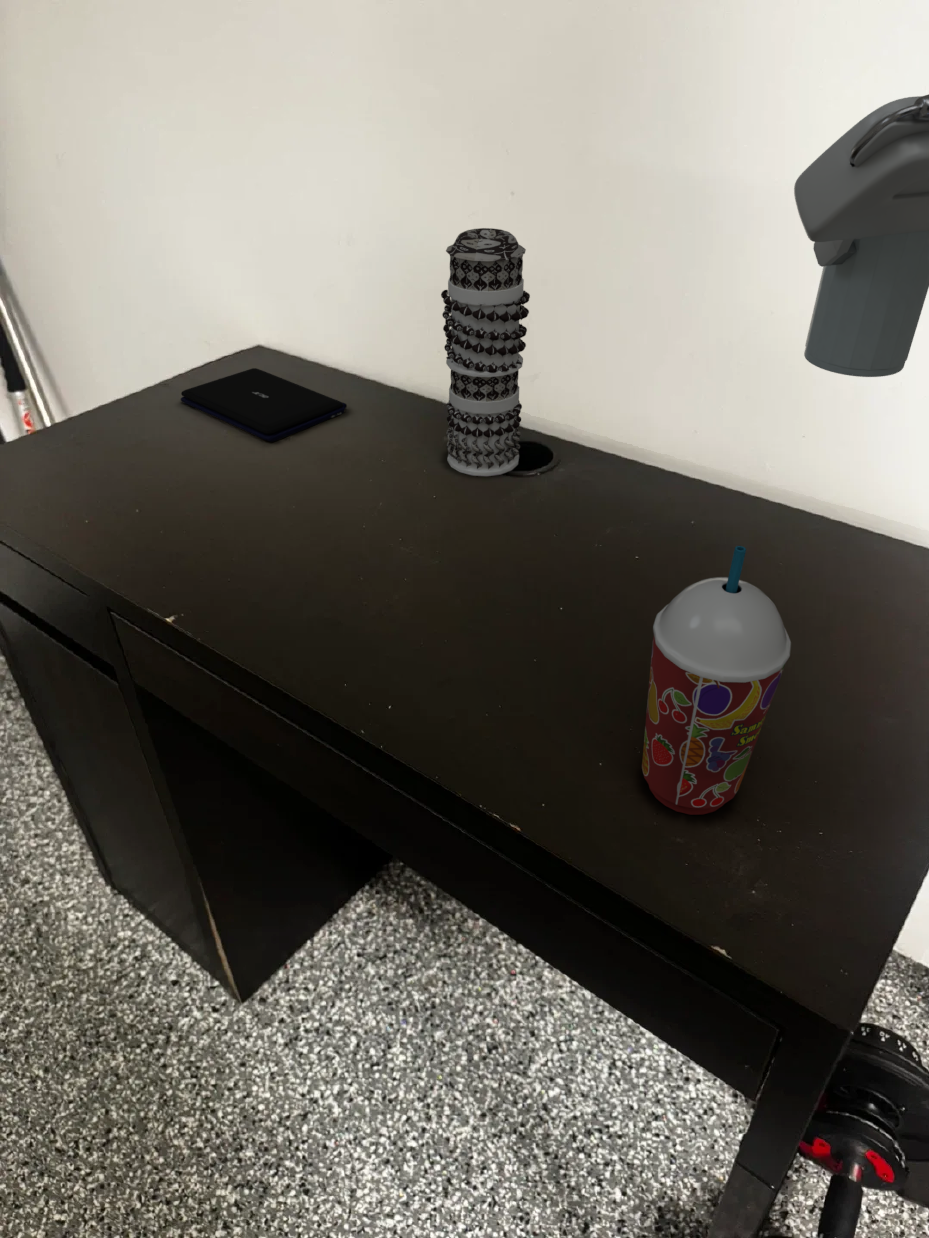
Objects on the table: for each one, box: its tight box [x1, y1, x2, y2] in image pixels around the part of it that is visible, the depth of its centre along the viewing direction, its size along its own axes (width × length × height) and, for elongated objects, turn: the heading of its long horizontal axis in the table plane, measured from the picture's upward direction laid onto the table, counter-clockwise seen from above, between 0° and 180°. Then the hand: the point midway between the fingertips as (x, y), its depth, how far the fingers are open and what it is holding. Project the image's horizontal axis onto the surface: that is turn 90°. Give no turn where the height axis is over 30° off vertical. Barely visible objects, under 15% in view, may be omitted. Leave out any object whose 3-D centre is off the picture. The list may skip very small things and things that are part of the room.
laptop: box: [180, 367, 347, 443], centre depth 116 cm, size 16×20×2 cm
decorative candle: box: [440, 227, 531, 477], centre depth 97 cm, size 9×9×25 cm
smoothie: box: [641, 545, 792, 816], centre depth 58 cm, size 8×8×20 cm
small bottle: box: [803, 231, 929, 378], centre depth 57 cm, size 6×6×14 cm
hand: (875, 250), depth 58 cm, fingers closed on small bottle, 6 cm apart
